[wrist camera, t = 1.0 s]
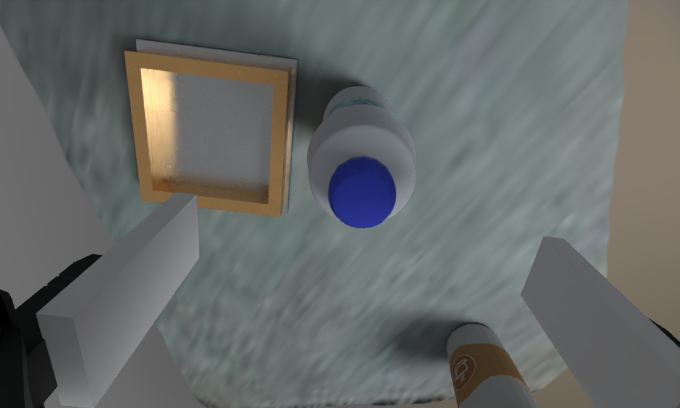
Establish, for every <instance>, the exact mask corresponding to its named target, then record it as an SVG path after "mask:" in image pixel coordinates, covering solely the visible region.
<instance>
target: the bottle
mask: <svg viewBox="0 0 680 408" xmlns="http://www.w3.org/2000/svg"><path fill="white" fill-rule="evenodd" d="M307 164H308V170H309V182H310V188H311V190H312V193H313V196H314V198H315V200H316V201H317V202H318V204H319V205H320V207H321V208H322V209H323V210H324V211H325V212H326V213H328V214H329V215H331V216H332V217H334V218H335V219H337V220H340V221H341V222H344V223H345V224H346V225H349V226H351V227H356V228H370V227H373V226H376V225H378V224H380V223H382V222H383V221H384V220H386V219H388V218H390V217H392V216H393V215H395V214H396V213H397V212H399V211H400V210H401V209H402V208H403V207H404V205H405V204H406V203H407V201H408V200H409V198H410V197H411V194H412V192H413V189H414V186H415V182H416V165H415V148H414V144H413V141H412V138H411V136H410V134H409V132H408V131H407V129H406V128H405V127H404V125H403V124H402V123H401V122H400V121H399V120H398V119H397V118H396V117H395V116H394V115H393V112H392V109H391V107H390V105H389V103H388V102H387V100H386V99H385V98H384V97H383V96H382V95H381V94H380V93H378V92H377V91H376V90H374V89H372V88H369V87H365V86H355V87H349V88H345V89H343V90H341V91H340V92H338V93H337V94H336V95H335V96H334V97H333V98H332V99H331V101H330V102H329V103H328V105H327V107H326V109H325V112H324V117H323V122H322V123H321V124H320V126H319V127H318V129H317V130H316V132H315V133H314V135H313V137H312V139H311V141H310V145H309V148H308V154H307Z"/></svg>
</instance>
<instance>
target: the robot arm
mask: <svg viewBox="0 0 680 408" xmlns="http://www.w3.org/2000/svg"><path fill="white" fill-rule="evenodd" d="M198 259H199V240H198V217H197V194H189V193H180V192H175V193H174V194H173V195H172V196H171V197H169V198H168V199H167V200H166V201H165V202H164V203H163V204H161V205H160V206H159V207H158V208H157V209H156V210H154V211H153V212H152V213H151V214H150V215H149V216H148V217H146V218H145V219H144V220H143V221H142V222H141V223H140V224H138V225H137V226H136V227H135V228H134V229H133V230H131V231H130V232H129V233H128V234H127V235H126V236H125V237H123V238H122V239H121V240H120V241H119V242H118V243H116V244H115V245H114V246H113V247H112V248H111V249H110V250H108V251H107V252H106V253H105V254H104V255H96V254H91V255H89V256H87V257H85V258H83V259H81V260H79V261H76V262H74V263H73V264H71V265H70V266H69V267H68V268H66V269H65V270H64V271H63V272H61V273H60V274H59V277H55V278H54V279H53V280H51V281H50V282H49V283H48V284H47V286H44V287H43V288H41V289H40V290H39V291H38V292H36V293H35V294H34V295H33V296H32V297H30V298H29V299H28V300H27V301H25V302H24V303H23V304H22V305H20V306H19V307H18V308H17V309H15V308H14V304H13V301H12V298H11V296H10V295H9V293H8V292H6V291H3V290H0V408H45V406H44V402H45V401H46V399H47V398H48V397H49V396H50V395H51V393H52V392H53V391H54V390H55V389H56V388H57V392H58V396H59V399H60V403H61V405H65V406H75V407H84V408H94V407H95V406H96V405H97V403H98V402H99V400H100V399H101V397H102V396H103V395H104V393H105V392H106V390H107V389H108V387H109V386H110V385H111V383H112V382H113V380H114V379H115V377H116V376H117V375H118V373H119V372H120V370H121V369H122V367H123V366H124V365H125V363H126V362H127V360H128V359H129V357H130V356H131V354H132V353H133V352H134V350H135V349H136V347H137V346H138V344H139V343H140V342H141V340H142V339H143V337H144V336H145V334H146V333H147V332H148V330H149V328H150V327H151V326H152V324H153V323H154V322H155V320H156V319H157V317H158V316H159V314H160V313H161V312H162V310H163V309H164V307H165V306H166V304H167V303H168V301H169V300H170V299H171V297H172V296H173V294H174V293H175V291H176V290H177V289H178V287H179V286H180V284H181V283H182V281H183V280H184V279H185V277H186V276H187V274H188V273H189V271H190V270H191V269H192V267H193V266H194V264H195V263H196V261H197V260H198ZM521 296H522V298H523V299H524V301H525V302H526V304H527V305H528V307H529V308H530V310H531V311H532V313H533V314H534V316H535V317H536V319H537V320H538V322H539V324H540V325H541V327H542V328H543V330H544V331H545V333H546V334H547V336H548V337H549V339H550V340H551V342H552V343H553V345H554V346H555V348H556V349H557V351H558V352H559V354H560V355H561V357H562V358H563V360H564V361H565V363H566V364H567V366H568V367H569V369H570V370H571V372H572V373H573V375H574V376H575V378H576V379H577V381H578V382H579V384H580V386H581V387H582V389H583V390H584V392H585V393H586V394H587V396H588V398H589V399H590V401H591V402H592V404H593V405H594V407H595V408H680V342H679V341H678V340H677V339H676V338H675V337H674V336H673V335H672V334H671V333H670V332H668V331H667V330H666V329H664V328H663V327H661V326H660V325H658V324H657V323H655V322H654V321H652V320H651V319H649V318H647V317H646V316H645V315H644V314H643V313H642V312H640V310H639V309H638V308H637V307H635V305H633V304H632V303H631V302H630V301H629V300H628V299H627V298H626V297H625V296H624V295H623V294H622V293H621V292H620V291H619V290H617V288H615V287H614V286H613V285H612V284H611V283H610V282H609V281H608V280H607V279H606V278H605V277H604V276H603V275H602V274H601V273H600V272H598V271H597V270H596V269H595V268H594V267H593V266H592V265H591V264H590V263H589V262H588V261H587V260H586V259H585V258H584V257H583V256H581V255H580V254H579V253H578V252H577V251H576V250H575V249H574V248H573V247H572V246H571V245H570V244H569V243H568V242H567V241H566V240H564V239H562V238H553V237H545V236H544V237H543V240H542V242H541V245H540V247H539V250H538V253H537V255H536V258H535V260H534V263H533V265H532V268H531V270H530V273H529V275H528V278H527V280H526V283H525V285H524V288H523V290H522V293H521Z"/></svg>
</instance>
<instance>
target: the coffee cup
mask: <svg viewBox="0 0 680 408" xmlns="http://www.w3.org/2000/svg"><path fill="white" fill-rule="evenodd" d="M446 348H447V354H448V359H449V364H450V372H451V376H452V381H453V386H454V391H455V395H456V400H457V405H458V408H539V407H538V405H537V404H536V402H535V400H534V398H533V397H532V395H531V393H530V391H529V388H528V386H527V385H526V383H525V381H524V380H523V378H522V376H521V375H520V373H519V371H518V370H517V368H516V366H515V364H514V363H513V361H512V359H511V358H510V356H509V354H508V353H507V352H506V350H505V349H504V347H503V345H502V344H501V342H500V340H499V338H498V337H497V335H496V334H495V333H494V332H493V331H492V330H490V329H489V328H487V327H486V326H483V325H480V324H467V325H464V326H461V327H459V328H457V329H456V330H454V331H453V332H452V333H451V335H450V336H449V339H448V342H447V345H446Z"/></svg>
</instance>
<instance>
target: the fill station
mask: <svg viewBox="0 0 680 408" xmlns="http://www.w3.org/2000/svg"><path fill="white" fill-rule="evenodd" d="M136 47H137V50H127V51H124V54H125V63H126V71H127V80H128V89H129V97H130V106H131V115H132V123H133V132H134V141H135V149H136V158H137V167H138V175H139V184H140V193H141V200H143V201H151V202H159V203H164V202H165V201H166V200H167V199H168V198H169V197H171V196H172V195H173V194H174V193H175V192H180V193H189V194H197V207H201V208H210V209H218V210H226V211H235V212H243V213H251V214H260V215H268V216H277V217H280V216H281V213H287V212H288V209H289V196H290V181H291V166H292V152H293V137H294V122H295V107H296V93H297V78H298V63H299V59H292V58H285V57H277V56H269V55H262V54H254V53H246V52H238V51H231V50H223V49H215V48H208V47H200V46H192V45H184V44H177V43H169V42H161V41H153V40H146V39H136Z"/></svg>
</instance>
